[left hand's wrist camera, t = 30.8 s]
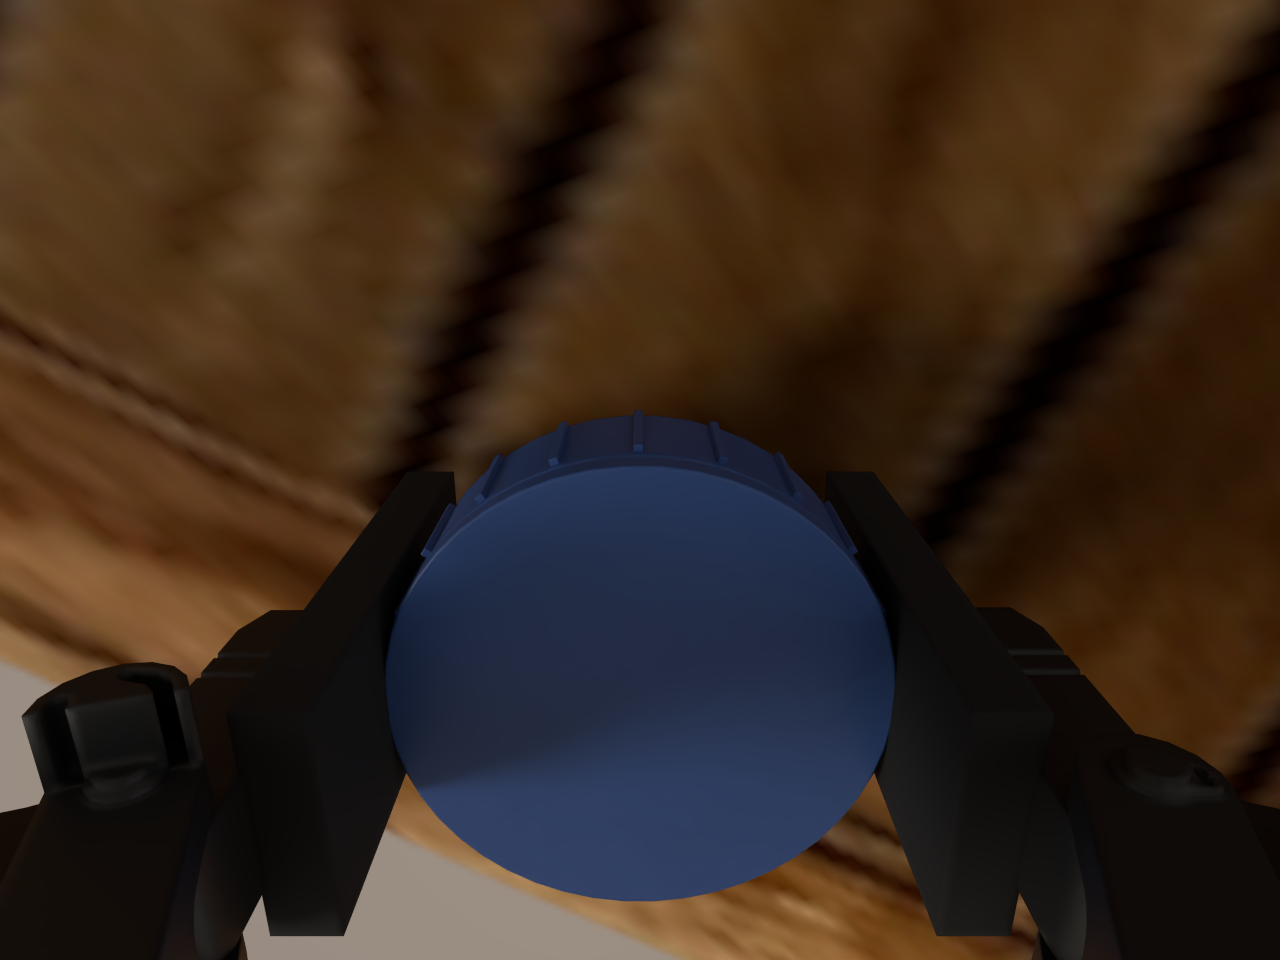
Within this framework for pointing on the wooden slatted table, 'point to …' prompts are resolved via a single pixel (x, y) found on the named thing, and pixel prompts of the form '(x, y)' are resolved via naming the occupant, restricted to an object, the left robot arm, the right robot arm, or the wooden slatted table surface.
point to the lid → (640, 662)
